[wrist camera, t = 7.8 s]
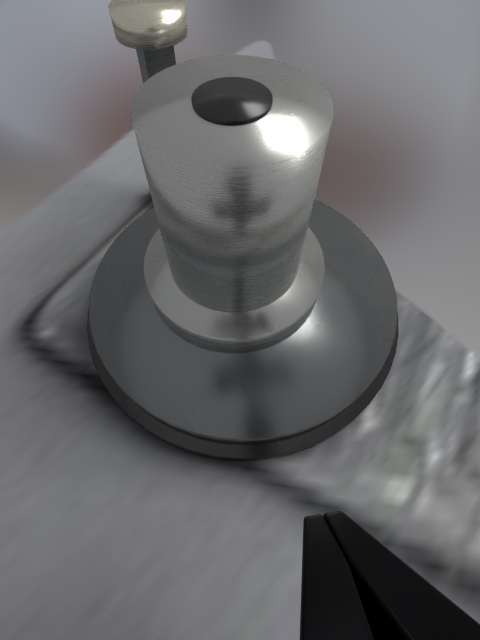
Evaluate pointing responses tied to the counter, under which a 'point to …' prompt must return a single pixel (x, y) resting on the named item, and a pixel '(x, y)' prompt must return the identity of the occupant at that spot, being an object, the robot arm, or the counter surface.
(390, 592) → the robot arm
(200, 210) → the cover
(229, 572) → the counter surface
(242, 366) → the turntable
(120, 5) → the stand
